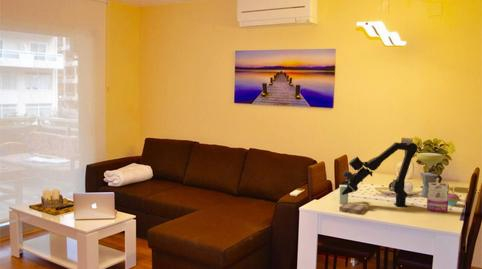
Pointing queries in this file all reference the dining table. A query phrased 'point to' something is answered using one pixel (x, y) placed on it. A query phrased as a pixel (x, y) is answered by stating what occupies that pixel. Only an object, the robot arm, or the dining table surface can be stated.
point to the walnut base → (352, 208)
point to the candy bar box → (437, 197)
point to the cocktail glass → (430, 158)
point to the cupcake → (452, 198)
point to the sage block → (342, 198)
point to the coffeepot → (428, 178)
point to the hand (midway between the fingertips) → (341, 192)
